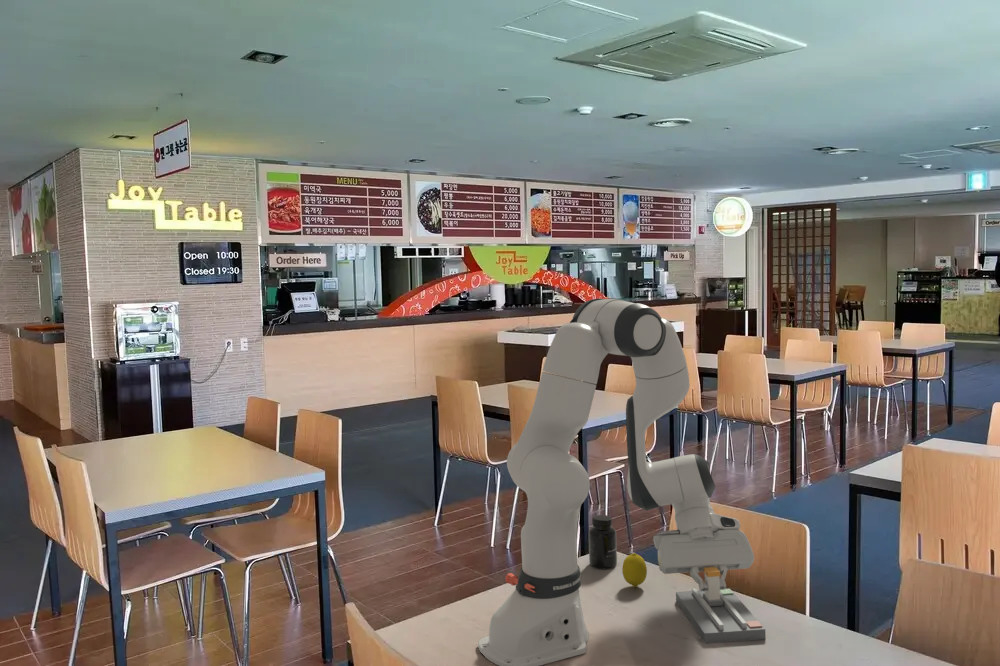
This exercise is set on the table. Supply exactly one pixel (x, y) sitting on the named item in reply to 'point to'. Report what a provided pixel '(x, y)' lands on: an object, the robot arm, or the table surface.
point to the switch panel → (720, 617)
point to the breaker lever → (712, 587)
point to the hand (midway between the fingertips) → (713, 589)
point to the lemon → (634, 569)
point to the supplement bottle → (602, 543)
